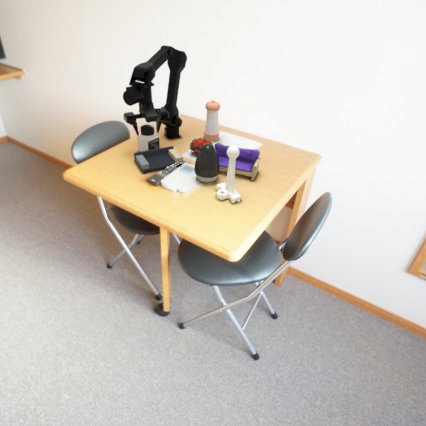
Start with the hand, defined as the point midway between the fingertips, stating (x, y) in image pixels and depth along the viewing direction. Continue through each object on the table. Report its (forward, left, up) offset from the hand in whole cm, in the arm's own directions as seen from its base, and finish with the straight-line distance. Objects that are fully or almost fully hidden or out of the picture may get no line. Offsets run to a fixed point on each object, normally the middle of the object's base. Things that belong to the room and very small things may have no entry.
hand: (148, 134), depth 143 cm
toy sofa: (-26, +32, -8) cm, 42 cm away
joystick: (-14, +47, -8) cm, 50 cm away
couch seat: (0, +13, -8) cm, 15 cm away
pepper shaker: (-33, -1, -8) cm, 34 cm away
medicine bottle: (0, 0, -8) cm, 8 cm away
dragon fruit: (-21, +12, -8) cm, 26 cm away
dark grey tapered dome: (-13, +33, -8) cm, 36 cm away
